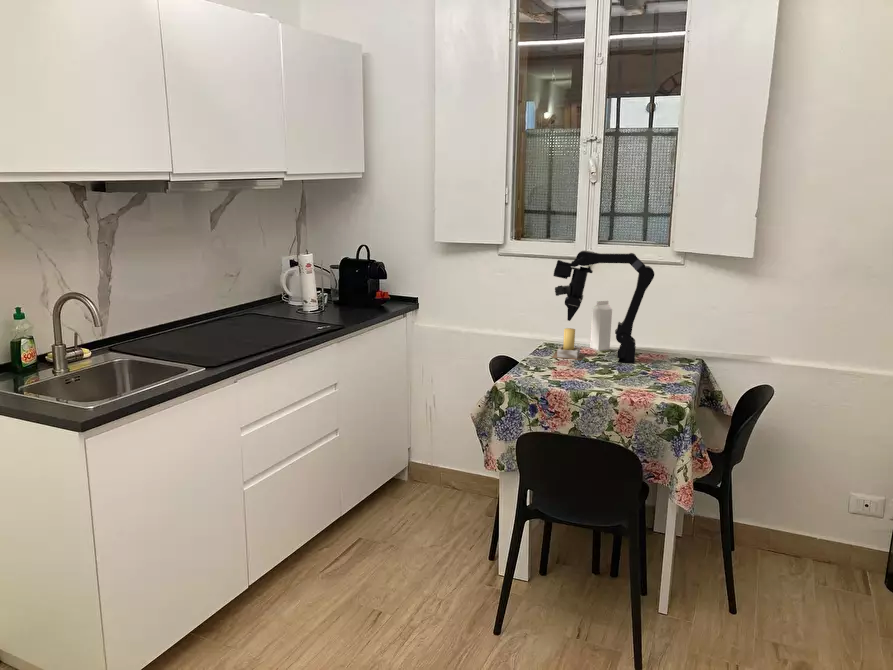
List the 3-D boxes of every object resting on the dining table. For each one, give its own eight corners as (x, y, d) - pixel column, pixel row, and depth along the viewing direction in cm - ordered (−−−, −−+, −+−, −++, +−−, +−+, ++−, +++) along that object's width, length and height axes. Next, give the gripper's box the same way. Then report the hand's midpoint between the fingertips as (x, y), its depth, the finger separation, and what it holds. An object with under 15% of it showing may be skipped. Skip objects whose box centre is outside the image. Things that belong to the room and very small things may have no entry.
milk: (609, 352, 304) (613, 301, 299) (597, 353, 301) (601, 302, 297) (600, 349, 309) (604, 299, 305) (589, 350, 307) (592, 300, 302)
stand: (584, 357, 294) (585, 346, 293) (581, 363, 283) (581, 352, 282) (555, 354, 298) (556, 344, 297) (551, 361, 286) (551, 350, 286)
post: (574, 355, 292) (575, 328, 289) (573, 357, 287) (574, 330, 285) (563, 354, 293) (564, 327, 291) (562, 356, 289) (563, 329, 286)
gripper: (560, 274, 298) (552, 310, 301) (556, 280, 280) (547, 318, 284) (587, 280, 295) (578, 316, 299) (584, 286, 278) (575, 324, 281)
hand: (569, 318), depth 291 cm, fingers open, 9 cm apart
